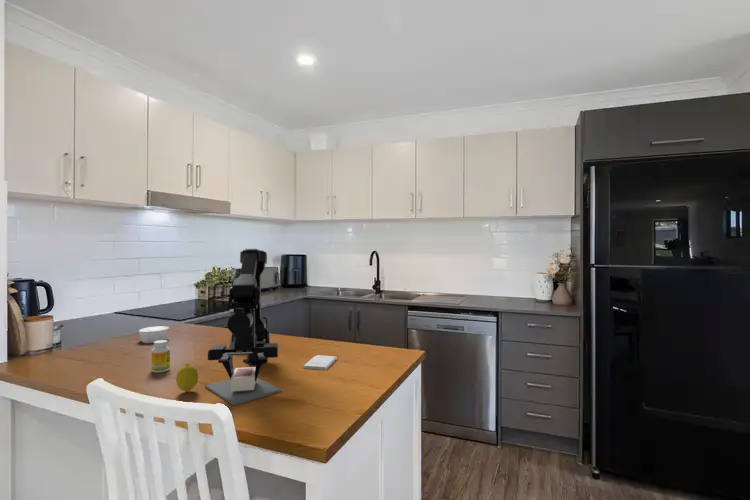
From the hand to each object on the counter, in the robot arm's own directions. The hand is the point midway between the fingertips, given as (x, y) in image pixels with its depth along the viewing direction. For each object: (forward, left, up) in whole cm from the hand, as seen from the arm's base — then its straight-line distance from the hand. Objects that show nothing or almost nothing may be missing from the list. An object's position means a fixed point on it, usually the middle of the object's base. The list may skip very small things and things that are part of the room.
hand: (244, 381), depth 111 cm
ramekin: (-81, 0, -3) cm, 81 cm away
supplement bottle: (-36, -11, -3) cm, 38 cm away
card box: (0, 0, -1) cm, 1 cm away
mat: (-1, 0, -3) cm, 3 cm away
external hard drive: (-5, +31, -3) cm, 32 cm away
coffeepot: (-47, +22, -3) cm, 52 cm away
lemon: (-10, -12, -3) cm, 16 cm away
